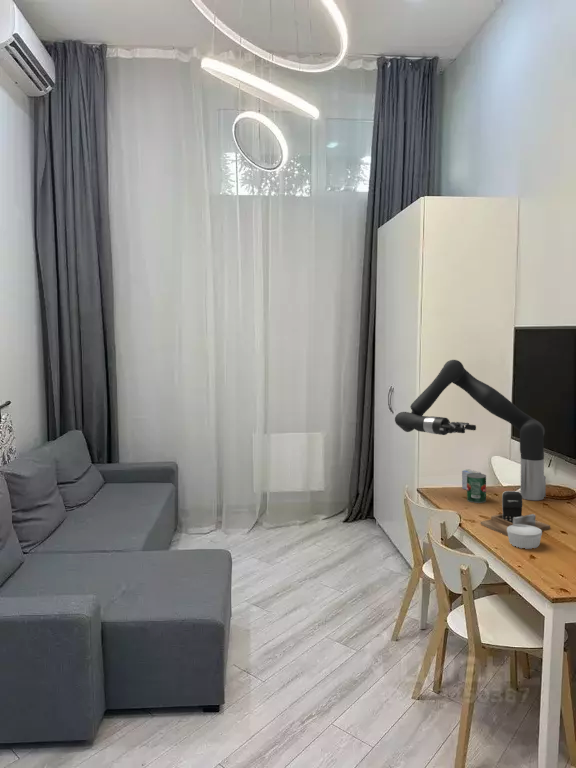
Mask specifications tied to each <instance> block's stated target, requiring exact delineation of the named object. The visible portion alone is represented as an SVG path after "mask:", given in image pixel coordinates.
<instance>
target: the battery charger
mask: <svg viewBox="0 0 576 768" xmlns="http://www.w3.org/2000/svg"><path fill="white" fill-rule="evenodd" d="M501 495H502V496H501V497H502V498H501V503H502V504H501V507H502V509H501V510H502V514H503V519H504V520H506V521H509V522H511V523H513V518H515V517H520V516H522V515H523V498H522V494H521V491H515V490H506V491H504V492H502V494H501Z"/></svg>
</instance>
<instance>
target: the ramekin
mask: <svg viewBox="0 0 576 768" xmlns="http://www.w3.org/2000/svg"><path fill="white" fill-rule="evenodd" d="M507 532H508V536H507V537H508V542H509V544H510V545H511V544H512V545H511V546H513V547H515V546H516V547H515V548H518V547H519V548H518V549H522V548H525V549H524V550H533V549H532V548H534V549H536V548H538V547H539V546H540V544H541V539H542V535H543V530H541V529H539V528H537V527H534V526H529V525H511V526H508V527H507Z"/></svg>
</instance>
